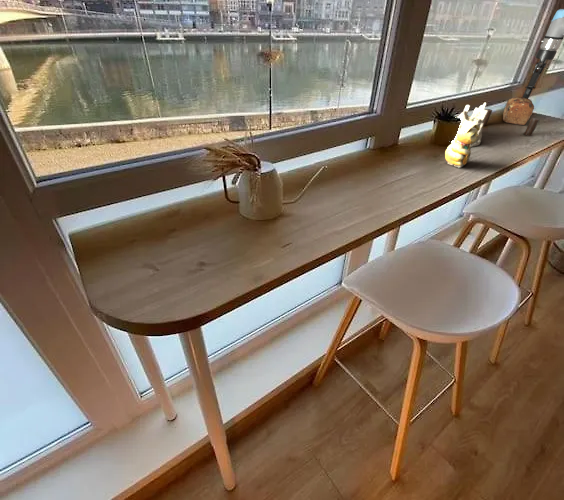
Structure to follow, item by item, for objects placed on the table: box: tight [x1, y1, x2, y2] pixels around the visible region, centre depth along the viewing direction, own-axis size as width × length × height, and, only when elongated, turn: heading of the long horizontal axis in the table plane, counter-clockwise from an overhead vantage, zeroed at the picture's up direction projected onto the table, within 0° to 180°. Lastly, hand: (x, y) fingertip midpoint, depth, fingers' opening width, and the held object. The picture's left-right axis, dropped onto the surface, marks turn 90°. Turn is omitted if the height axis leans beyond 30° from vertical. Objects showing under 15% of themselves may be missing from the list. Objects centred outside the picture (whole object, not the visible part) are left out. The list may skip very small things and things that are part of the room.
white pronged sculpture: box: [450, 102, 488, 148], centre depth 134 cm, size 16×16×15 cm
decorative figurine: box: [444, 121, 480, 169], centre depth 113 cm, size 10×8×15 cm
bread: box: [502, 96, 535, 126], centre depth 161 cm, size 19×11×10 cm, turn 151°
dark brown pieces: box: [483, 108, 540, 137], centre depth 148 cm, size 22×3×7 cm, turn 51°
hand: (523, 101), depth 169 cm, fingers closed
